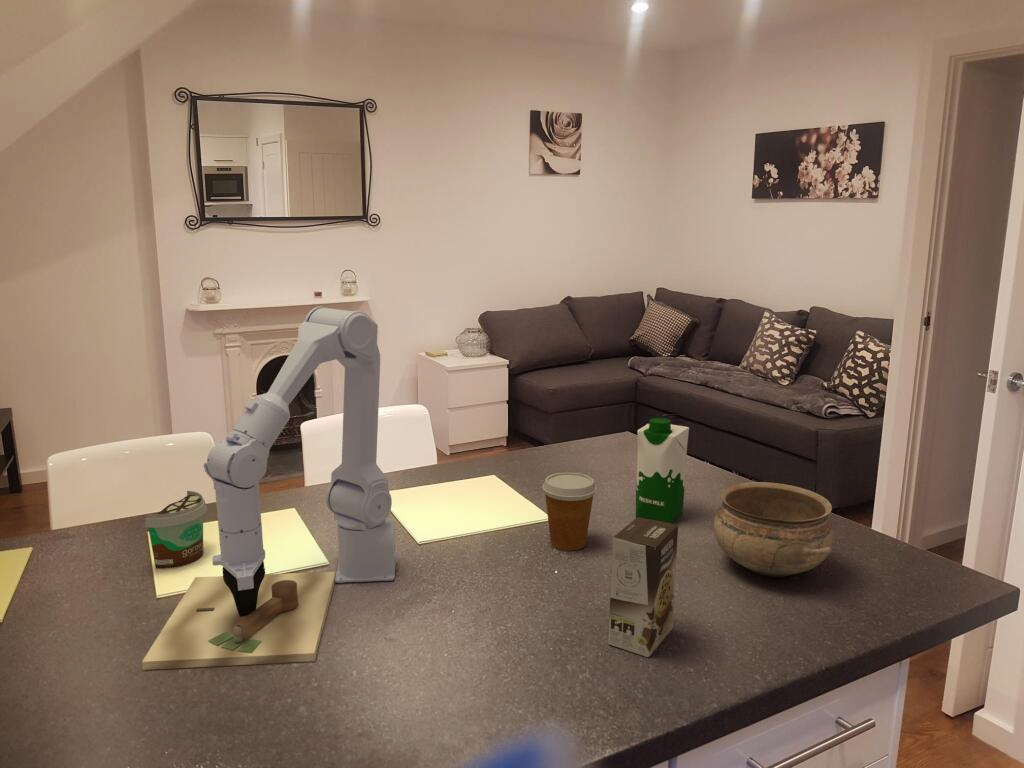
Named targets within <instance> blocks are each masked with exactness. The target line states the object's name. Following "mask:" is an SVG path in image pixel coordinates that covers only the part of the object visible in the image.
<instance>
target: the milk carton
mask: <svg viewBox="0 0 1024 768" xmlns="http://www.w3.org/2000/svg"><path fill="white" fill-rule="evenodd" d="M648 421H649V422H648V423H646V424H645V425H644V426H642V427H641V428H639V429H637V431H636V433H637V457H636V461H637V462H636V483H635V519H636V518H637V517H640V518H644V519H649V520H656V521H661V522H666V523H671V524H674V522H676V521H677V520H678V519H679V518H681V516H682V515H683V512H684V511H683V510H684V500H685V487H686V475H687V474H686V472H687V470H686V469H687V468H686V467H687V453H688V452H687V451H688V450H687V449H688V443H689V432H690V427H689V426H684V425H676V424H672V421H671V420H670V419H669V418H666V417H665V418H664V417H653V418H650V419H649V420H648Z"/></svg>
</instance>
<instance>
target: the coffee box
mask: <svg viewBox="0 0 1024 768" xmlns="http://www.w3.org/2000/svg"><path fill="white" fill-rule="evenodd" d="M678 533H679V525H678V524H674V523H672V524H671V523H666V522H661V521H656V520H649V519H644V518H640V517H637V518H636V517H635V519H633V520H632V521H631V522H630V523H629V524H627V525H626V526H625V527H624V528H623V529H621V530H620V531H619V532H617V533H616V534H615V535H614V536H613V537H612V550H611V551H612V552H611V572H610V573H611V575H610V589H609V590H610V593H609V594H610V595H609V596H610V597H609V601H610V602H609V615H608V616H609V618H608V619H609V621H608V639H607V641H608V645H609V646H613V647H616V648H619V649H622V650H625V651H628V652H630V653H634V654H637V655H639V656H643V657H646V658H649V657H650V656H651V655H652V654H653V653H654V651H656V649H657V648H658V647H659V646H660V644H661V643H662V642H663V641H664V640H665V639H666V637H667V636H668V635H669V634H670V633H671V631H672V630H673V627H674V625H673V624H674V610H675V609H674V608H675V607H674V606H675V591H676V589H675V587H676V570H677V555H678V554H677V551H678V537H679V534H678Z"/></svg>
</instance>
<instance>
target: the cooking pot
mask: <svg viewBox="0 0 1024 768" xmlns="http://www.w3.org/2000/svg"><path fill="white" fill-rule="evenodd" d="M719 494H720V499H721V503H720V505H719V507H718V509H717V511H716V514H715V517H714V521H713V533H714V536H715V539H716V541H717V544H718V546H719V547H720V549H721V551H723V552H724V554H726V556H728V557H729V558H730V559H732V560H733V561H734V562H736V563H737V564H739V565H740V566H742V567H744V568H745V569H747V570H750V571H751V572H752V571H753V573H754V572H755V573H754V574H756V573H757V575H758V574H759V575H758V576H761V575H763V576H762V577H765V576H768V577H767V578H771V577H781V578H785V577H788V576H791V575H797V574H800V573H804V572H808V571H810V570H812V569H815V568H816V567H817V566H819V565H820V564H822V563H823V562H824V561H825V560H826V558H827V557H828V556H829V555H830V554H831V553H832V549H833V547H834V546H833V545H834V539H835V538H834V536H835V534H834V529H833V524H832V520H831V518H830V515H829V514H830V513H831V512H832V511H833V510H832V509H833V506H832V503H830V501H829V500H828V499H827V498H826V497H825V496H823V495H820V494H819V493H817V492H814V491H812V490H809V489H806V488H804V487H803V488H802V487H799V486H796V485H795V486H794V485H789V484H784V483H779V482H767V481H755V482H754V481H751V482H750V481H749V482H741V483H735V484H733V485H730V486H727V487H725V488H723V489H722V491H721V492H720V493H719Z"/></svg>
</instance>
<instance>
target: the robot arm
mask: <svg viewBox="0 0 1024 768" xmlns="http://www.w3.org/2000/svg"><path fill="white" fill-rule="evenodd" d="M378 327H379V326H378V323H376V322H375V321H374V320H373V319H372V317H371V316H370V315H368V314H367V313H366V312H364V311H362V310H345V309H339V308H337V309H336V308H331V307H326V306H321V305H320V306H315V307H314V308H312V309H311V310H310V311H309V312H308V313H307V314H306V316H305V318H304V321H303V322H302V323H301V324H299V326H298V328H297V341H296V342H295V344H294V346H293V348H292V349H291V351H290V353H289V354H288V356H287V358H286V360H285V362H284V363H283V365H282V366H281V368H280V370H279V372H278V374H277V375H276V377H275V378H274V381H273V382H272V384H271V385H270V387H269V389H268V391H267V392H266V393H262V394H258V395H255V396H254V397H253V398H252V400H248V401H247V402H246V404H245V406H244V409H245V410H244V411H243V413H242V415H241V416H240V418H239V419H238V420H237V422H236V424H235V425H234V426H233V428H232V430H231V431H228V433H227V435H226V439H224V440H221V441H220V442H217V443H216V444H215V445H214V446H213V447H212V448H211V449H210V450H209V452H208V455H207V457H206V458H207V459H206V462H204V463H203V468H204V472H205V473H206V475H207V476H208V477H209V478H210V479H211V480H212V483H213V490H215V491H214V493H215V502H216V503H215V504H216V513H217V528H218V535H219V537H218V538H219V549H220V554H216V555H213V556H212V558H211V560H212V561H211V563H212V566H222V576H223V580H224V582H225V584H226V585H227V586H228V588H229V589H230V591H231V593H232V595H233V597H234V601H235V604H236V608H237V611H238V614H239V616H240V617H244V616H248V615H249V614H250V613H252V612H253V611H254V610H256V606H257V598H258V592H259V588H260V585H261V582H262V580H263V579H264V576H265V574H266V569H265V562H264V560H265V559H266V550H265V549H264V540H263V539H264V538H263V524H262V523H263V522H262V511H261V498H260V485H259V484H260V483H259V481H261V480H262V478H263V477H264V476H265V475H266V473H267V469H268V457H269V456H270V450H271V448H272V446H273V445H274V443H275V442H276V440H277V439H278V437H279V436H280V434H281V433H282V431H283V430H284V428H285V427H286V425H287V423H288V422H289V420H290V418H291V414H290V408H289V405H290V404H291V403H292V401H293V400H294V399H295V397H296V396H297V395H298V393H300V391H301V389H302V388H303V387H304V386H305V385H306V383H307V382H308V380H309V379H310V378H311V377H312V375H313V374H314V372H315V371H316V370H317V369H318V368H319V366H320V365H321V364H322V363H327V362H331V361H335V360H336V361H337V362H338V363H340V364H341V365H342V366H343V367H344V380H343V381H344V384H343V385H344V386H343V415H342V441H341V443H342V445H341V464H339V466H337V467H336V468H334V470H332V471H331V476H330V484H329V486H328V488H327V491H326V494H325V495H326V496H325V503H326V506H327V508H328V510H329V511H330V512H331V513H333V515H334V516H333V517H334V521H336V525H337V528H336V529H337V545H338V547H337V548H338V564H337V568H336V571H335V572H336V576H335V583H337V584H338V583H339V584H340V583H362V582H363V583H364V582H365V583H366V582H385V581H386V582H387V581H388V582H389V581H394V580H395V575H396V567H397V566H396V565H397V564H398V551H397V549H396V525H395V524H396V522H395V519H390V518H389V519H388V516H389V515H390V513H391V509H392V500H393V499H392V495H391V492H390V490H389V478H388V477H387V476H386V474H385V473H384V472H383V470H382V469H381V468H380V467H379V466H378V464H377V457H378V455H377V453H378V452H377V451H378V431H379V430H378V428H379V426H378V425H379V408H380V407H379V403H380V381H381V380H380V377H381V376H380V375H381V352H380V350H379V346H378Z"/></svg>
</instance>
